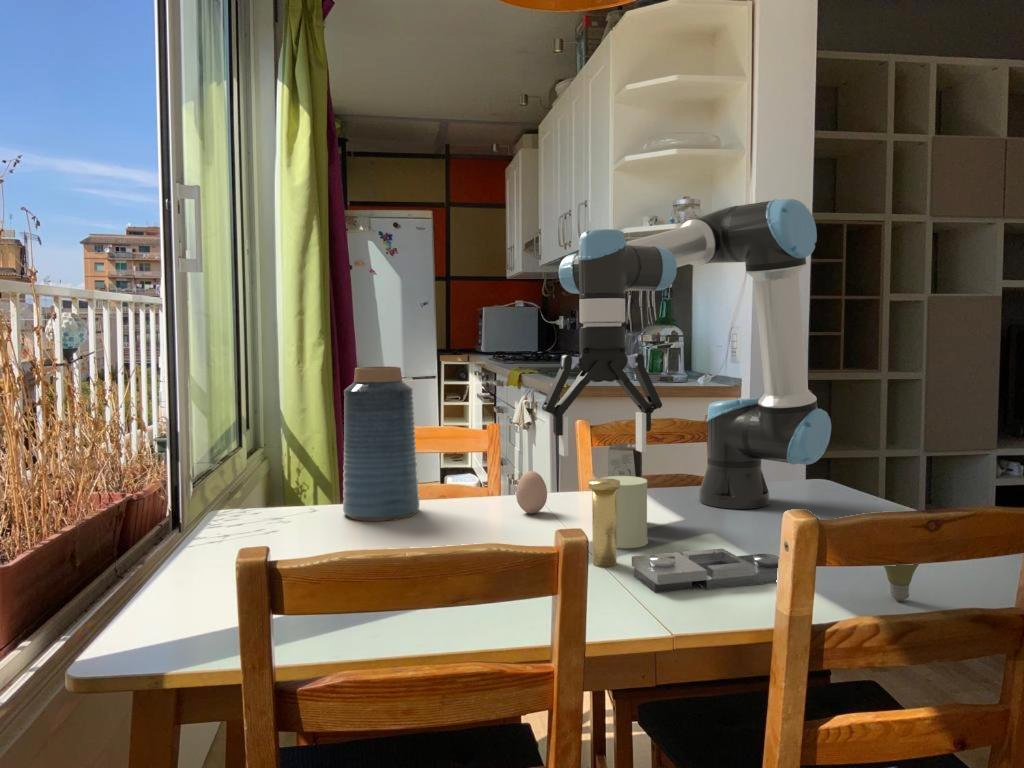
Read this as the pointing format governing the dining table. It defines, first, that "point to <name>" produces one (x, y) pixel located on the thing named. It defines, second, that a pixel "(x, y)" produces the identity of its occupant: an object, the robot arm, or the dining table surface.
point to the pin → (604, 521)
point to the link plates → (704, 570)
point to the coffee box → (624, 460)
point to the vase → (379, 446)
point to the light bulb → (900, 580)
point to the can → (631, 512)
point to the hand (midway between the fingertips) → (602, 453)
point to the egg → (531, 492)
